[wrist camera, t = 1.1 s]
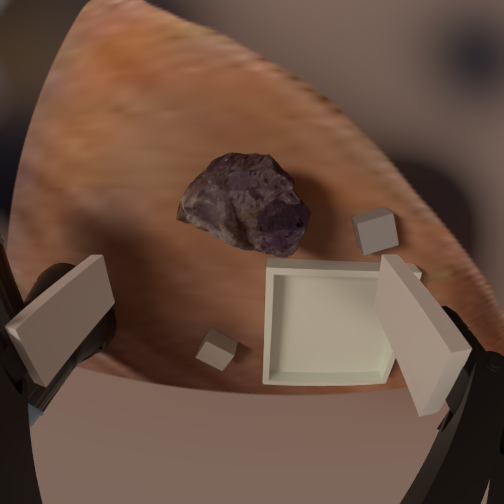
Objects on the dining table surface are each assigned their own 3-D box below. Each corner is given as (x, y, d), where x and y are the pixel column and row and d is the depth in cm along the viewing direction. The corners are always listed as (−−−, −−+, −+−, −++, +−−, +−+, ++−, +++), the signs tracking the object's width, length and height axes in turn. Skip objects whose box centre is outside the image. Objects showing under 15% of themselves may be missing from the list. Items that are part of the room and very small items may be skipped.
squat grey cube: (357, 245, 31) (363, 255, 29) (350, 216, 30) (356, 224, 27) (389, 235, 30) (398, 245, 28) (384, 206, 29) (393, 213, 27)
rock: (279, 245, 34) (309, 161, 29) (291, 286, 26) (333, 179, 22) (178, 220, 32) (199, 130, 28) (159, 255, 24) (184, 136, 20)
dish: (263, 371, 39) (262, 384, 37) (267, 257, 33) (266, 267, 30) (381, 371, 38) (385, 383, 35) (413, 263, 31) (421, 272, 29)
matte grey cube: (200, 343, 39) (195, 357, 36) (211, 327, 37) (206, 341, 35) (226, 356, 39) (222, 371, 36) (237, 341, 38) (234, 355, 35)
